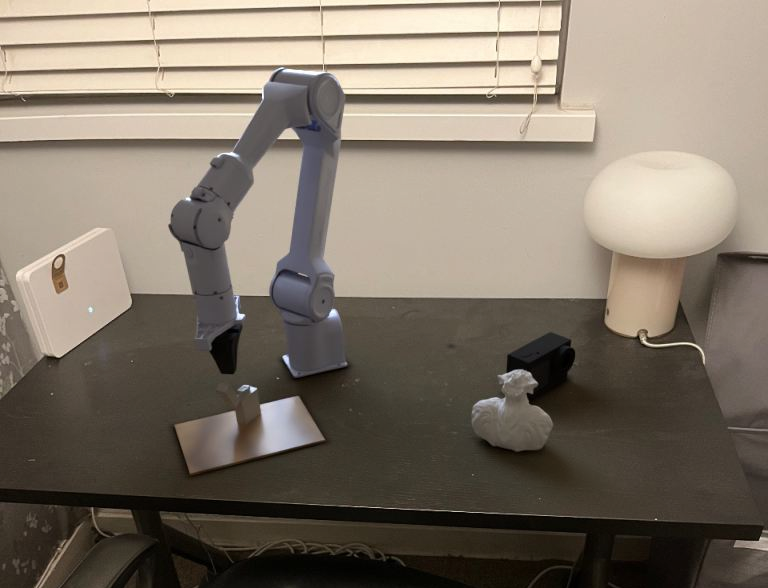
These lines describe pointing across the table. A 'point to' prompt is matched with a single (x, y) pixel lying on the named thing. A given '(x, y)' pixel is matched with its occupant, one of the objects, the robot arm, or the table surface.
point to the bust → (512, 416)
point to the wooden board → (246, 435)
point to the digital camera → (543, 361)
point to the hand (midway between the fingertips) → (228, 372)
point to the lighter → (241, 401)
